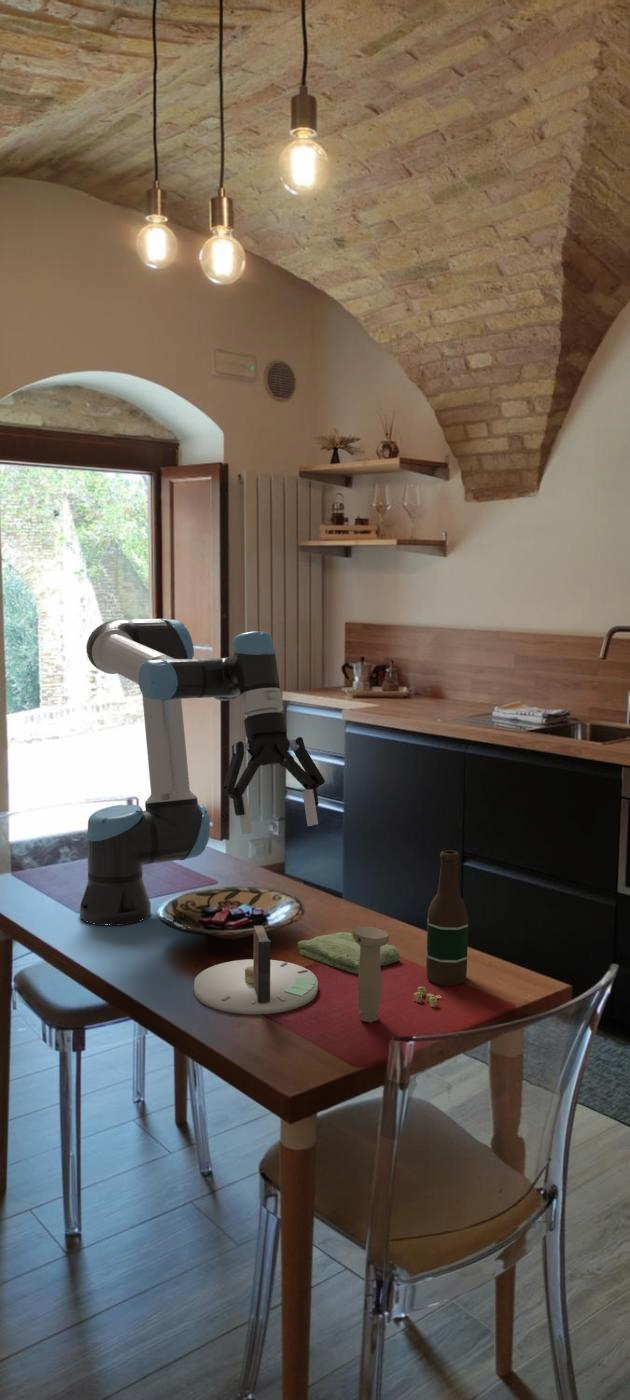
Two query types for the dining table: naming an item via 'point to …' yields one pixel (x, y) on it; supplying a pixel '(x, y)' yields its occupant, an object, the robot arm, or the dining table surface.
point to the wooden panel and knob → (260, 965)
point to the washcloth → (342, 951)
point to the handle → (369, 971)
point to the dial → (236, 995)
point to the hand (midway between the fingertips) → (280, 829)
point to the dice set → (429, 996)
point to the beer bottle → (447, 927)
